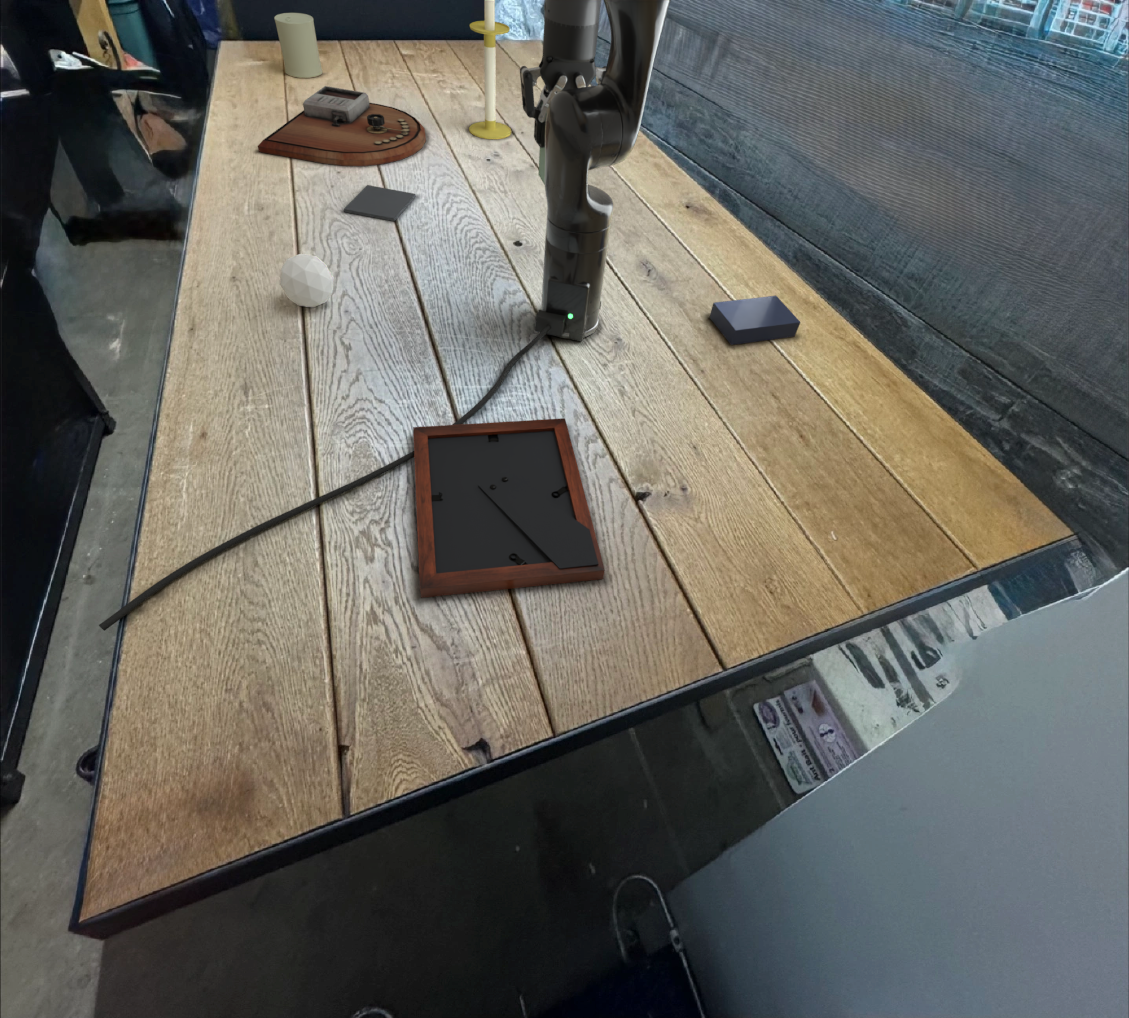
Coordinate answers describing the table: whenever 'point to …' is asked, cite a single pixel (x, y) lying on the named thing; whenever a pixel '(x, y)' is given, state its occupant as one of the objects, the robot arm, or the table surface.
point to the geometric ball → (306, 280)
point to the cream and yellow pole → (490, 75)
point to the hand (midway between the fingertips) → (561, 144)
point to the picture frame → (501, 508)
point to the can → (298, 45)
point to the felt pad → (380, 203)
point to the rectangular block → (754, 319)
